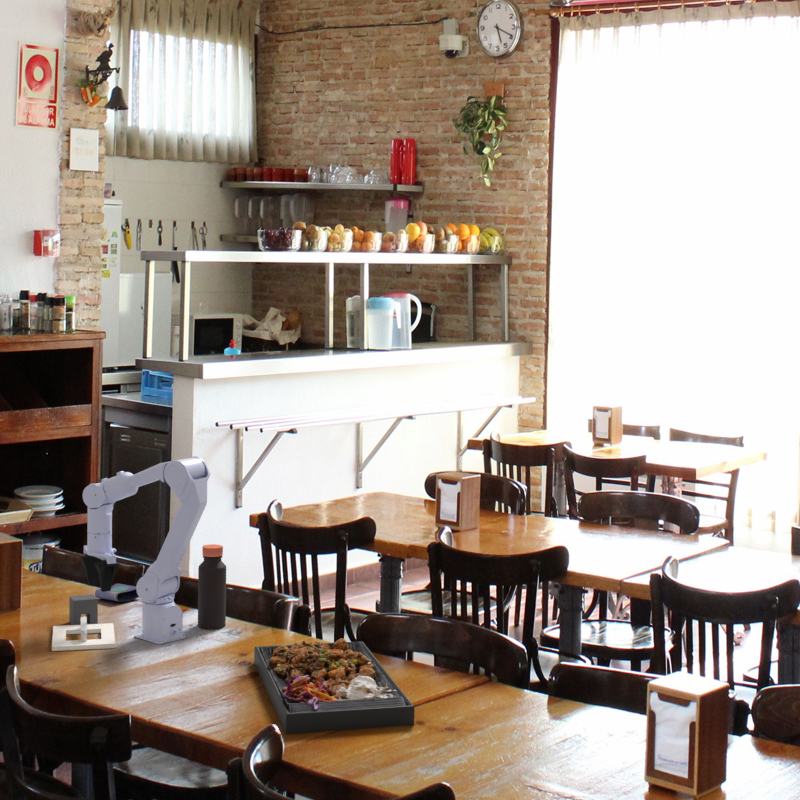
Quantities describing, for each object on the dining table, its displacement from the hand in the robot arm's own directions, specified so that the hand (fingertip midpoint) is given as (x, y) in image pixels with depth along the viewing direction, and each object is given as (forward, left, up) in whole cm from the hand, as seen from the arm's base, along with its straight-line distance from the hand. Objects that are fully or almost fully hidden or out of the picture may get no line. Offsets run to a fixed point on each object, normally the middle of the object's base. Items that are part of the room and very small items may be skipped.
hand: (99, 587), depth 290 cm
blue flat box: (+16, -21, -11) cm, 28 cm away
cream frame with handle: (-5, +8, -10) cm, 14 cm away
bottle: (-18, -20, -10) cm, 29 cm away
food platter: (-73, -3, -11) cm, 74 cm away
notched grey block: (+6, 0, -10) cm, 12 cm away
